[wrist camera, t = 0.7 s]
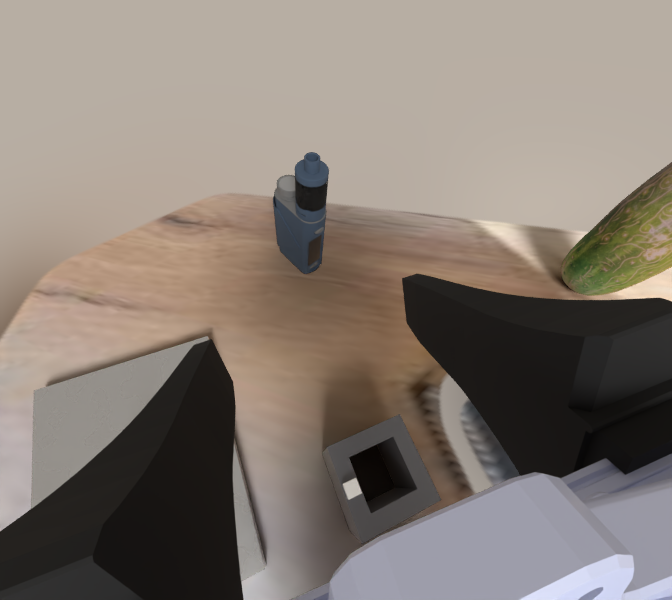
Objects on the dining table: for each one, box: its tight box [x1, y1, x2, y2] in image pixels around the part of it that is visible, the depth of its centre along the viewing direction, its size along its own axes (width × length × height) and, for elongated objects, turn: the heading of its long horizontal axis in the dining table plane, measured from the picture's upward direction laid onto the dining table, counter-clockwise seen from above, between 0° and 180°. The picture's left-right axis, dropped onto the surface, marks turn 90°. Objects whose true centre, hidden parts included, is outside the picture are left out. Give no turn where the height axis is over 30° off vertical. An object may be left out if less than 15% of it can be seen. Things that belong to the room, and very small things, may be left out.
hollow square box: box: [322, 414, 441, 544], centre depth 20 cm, size 5×5×5 cm
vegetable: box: [561, 162, 672, 296], centre depth 24 cm, size 6×6×20 cm
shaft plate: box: [31, 336, 266, 581], centre depth 20 cm, size 16×12×4 cm
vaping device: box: [273, 152, 329, 274], centre depth 27 cm, size 3×5×12 cm, turn 43°
